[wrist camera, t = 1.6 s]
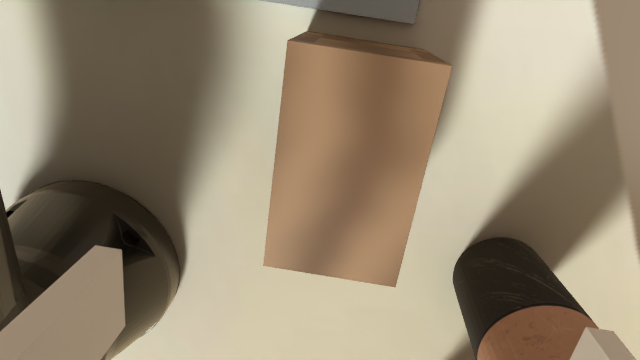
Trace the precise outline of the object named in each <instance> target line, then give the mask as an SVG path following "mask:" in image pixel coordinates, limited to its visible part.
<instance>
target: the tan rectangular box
mask: <svg viewBox="0 0 640 360" xmlns="http://www.w3.org/2000/svg"><path fill="white" fill-rule="evenodd" d="M451 69H452V66H451V65H449V64H448V63H446V62H444V61H442V60H441V59H439V58H437V57H435V56H434V55H432V54H430V53H428V52H427V51H425V50H423V49H416V48H410V47H403V46H397V45H391V44H384V43H378V42H371V41H365V40H359V39H352V38H346V37H339V36H333V35H326V34H320V33H314V32H305V33H302V34H300V35H298V36H296V37H294V38H292V39H290V40H288V42H287V51H286V60H285V70H284V79H283V88H282V98H281V107H280V116H279V125H278V135H277V144H276V153H275V163H274V172H273V181H272V191H271V200H270V209H269V218H268V228H267V237H266V246H265V256H264V265H263V266H269V267H275V268H281V269H287V270H293V271H299V272H305V273H311V274H317V275H324V276H330V277H336V278H342V279H348V280H354V281H360V282H366V283H372V284H379V285H385V286H391V287H395V286H396V283H397V279H398V275H399V271H400V267H401V263H402V259H403V255H404V251H405V248H406V244H407V240H408V236H409V232H410V228H411V224H412V220H413V216H414V213H415V209H416V205H417V201H418V197H419V193H420V189H421V185H422V181H423V177H424V174H425V170H426V166H427V162H428V158H429V154H430V150H431V146H432V142H433V139H434V135H435V131H436V127H437V123H438V119H439V115H440V111H441V107H442V104H443V100H444V96H445V92H446V88H447V84H448V80H449V76H450V72H451Z"/></svg>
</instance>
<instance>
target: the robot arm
mask: <svg viewBox="0 0 640 360" xmlns="http://www.w3.org/2000/svg"><path fill="white" fill-rule="evenodd" d="M178 283H179V264H178V258H177V255H176V252H175V249H174V246H173V244H172V242H171V240H170V238H169V236H168V235H167V233H166V231H165V230H164V229H163V227H162V226H161V224H160V223H159V222H158V221H157V220H156V219H155V218H154V216H153V215H152V214H151V213H149V212H148V211H147V210H146V209H145V208H144V207H143V206H141V205H140V204H139V203H137V202H136V201H134V200H133V199H131V198H130V197H128V196H126V195H124V194H123V193H121V192H118V191H116V190H114V189H111V188H109V187H106V186H103V185H99V184H95V183H90V182H83V181H63V182H57V183H53V184H49V185H46V186H44V187H41V188H39V189H37V190H36V191H34V192H32V193H30V194H29V195H27V196H25V197H23V198H22V199H20V200H18V201H17V202H15V203H14V204H13V205H12V206H10V207H9V208H8V209H7V210H6V211H5V207H4V202H3V198H2V194H1V190H0V360H111V359H112V358H113V357H115V356H116V355H117V354H118V353H120V352H121V351H122V350H124V349H125V348H126V347H128V346H129V345H130V344H131V343H133V342H134V341H135V340H136V339H138V338H139V337H141V336H143V335H144V334H146V333H147V332H148V331H150V330H151V329H152V328H153V327H154V326H155V325H156V324H157V323H158V322H159V320H160V319H161V318H162V316H163V315H164V313H165V312H166V310H167V308H168V307H169V305H170V304H171V302H172V300H173V298H174V296H175V294H176V291H177V288H178ZM570 360H636V359H635V358H634V356H633V355H632V354H631V353H630V351H629V350H628V349H627V348H626V346H625V345H624V344H623V343H622V341H621V340H620V339H619V338H618V336H617V335H616V334H615V333H614V331H608V330H602V329H596V328H590V327H585V329H584V332H583V334H582V336H581V338H580V340H579V342H578V344H577V346H576V348H575V350H574V352H573V354H572V356H571V358H570Z"/></svg>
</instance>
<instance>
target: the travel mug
mask: <svg viewBox="0 0 640 360" xmlns="http://www.w3.org/2000/svg"><path fill="white" fill-rule="evenodd" d="M453 284H454V288H455V292H456V296H457V299H458V302H459V306H460V309H461V312H462V315H463V319H464V322H465V325H466V328H467V332H468V335H469V338H470V341H471V344H472V348H473V351H474V354H475V357H476V360H570V358H571V356H572V354H573V352H574V350H575V348H576V346H577V344H578V342H579V340H580V338H581V336H582V334H583V332H584V329H585V327H590V328H596V329H599V328H598V327H597V325H596V324H595V323H594V322H593V320H592V319H591V318H590V317H589V316H588V314H587V313H586V312H585V311H584V310H583V308H582V307H581V306H580V305H579V304H578V302H577V301H576V300H575V299H574V298H573V296H572V295H571V294H570V293H569V291H568V290H567V289H566V288H565V287H564V285H563V284H562V283H561V282H560V281H559V279H558V278H557V277H556V276H555V275H554V273H553V272H552V271H551V270H550V269H549V267H548V266H547V265H546V264H545V263H544V261H543V260H542V259H541V258H540V257H539V256H538V254H537V253H536V252H535V251H534V250H533V249H532V248H530V247H529V246H528V245H526V244H524V243H522V242H520V241H517V240H514V239H509V238H494V239H489V240H485V241H482V242H479V243H477V244H475V245H474V246H472V247H470V248H469V249H468V250H467V251H465V252H464V253H463V254H462V256H461V257H460V258H459V260H458V261H457V263H456V265H455V268H454V272H453Z"/></svg>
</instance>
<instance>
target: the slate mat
mask: <svg viewBox="0 0 640 360" xmlns="http://www.w3.org/2000/svg"><path fill="white" fill-rule="evenodd" d="M262 1H268V2H275V3H281V4H287V5H294V6H300V7H307V8H313V9H320V10H326V11H333V12H339V13H346V14H352V15H358V16H365V17H371V18H378V19H384V20H391V21H397V22H404V23H410V24H415V20H416V16H417V11H418V6H419V2H420V0H262Z"/></svg>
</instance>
